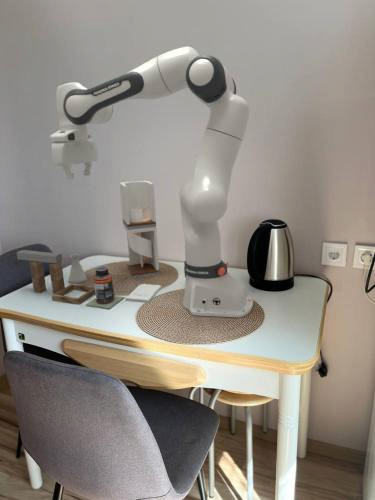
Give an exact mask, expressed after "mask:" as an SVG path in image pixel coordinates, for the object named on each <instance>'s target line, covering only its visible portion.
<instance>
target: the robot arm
mask: <svg viewBox="0 0 375 500" xmlns="http://www.w3.org/2000/svg"><path fill="white" fill-rule="evenodd" d="M184 89H189V90H190V92H191V93H192V94H193V95H195V97H197V99H198V100H199V101H200V102H201V103H202V104H204V105H206V106H207V107H208V108H209V110H210V112H209V118H208V121H207V124H206V127H205V130H204V132H203V136H202V138H201V142H200V145H199V147H198V150H197V154H196V161H195V167H194V173H193V178H191V179H188V180H187V181H186V182H184V183H183V185H182V186H181V187H180V189H179V202H180V203H179V205H180V213H181V222H182V229H183V235H184V236H183V237H184V251H185V253H184V254H185V255H184V257H185V259H184V265H183V268H184V269H183V272H184V277H185V286H184V293H183V298H182V302H181V303H182V307H183V308H185V309H186V310H188V311H189V313H190V314H191V315H192V316H199V317H200V316H202V317H203V316H204V317H222V318H223V317H225V318H243V317H244V316H247V315H248V314H249V313H250V312H251V311H252V310H253V307H254V300H253V298H252V297H251V296H247V292H246V288H245V285H244V284H243V282H241V281H240V280H238V279H237V278H236V277H234V276H233V275H232V274H230V273H229V272H228V266H229V262H228V261H227V262H226V263H225V262H224V261H223V260H222V240H221V239H222V238H221V233H220V229H219V223H218V221H219V220H221V219H222V218H223V217H224V215H225V213H226V212H227V209H228V194H229V192H230V191H229V190H230V185H231V179H232V174H233V170H234V169H233V168H234V166H235V163H236V160H237V156H238V154H239V151H240V149H241V145H242V144H243V140H244V137H245V134H246V131H247V126H248V120H249V117H250V106H249V105H250V104H249V103H248V102H247V101H246V99H244V97H242V96H240V95H237V86H236V82H235V80H234V78H233V77H232V76H231V73H230V71H229V70H228V68H227V67H225V65H224V64H222V62H221V61H220V60H219V58H217V57H214V56H212V55H210V54H201V55H200V54H199V53H198V51H197V50H196V49H195V48H194V47H191V46H183V47H179V48H175V49H172V50H169V51H167V52H164V53H162V54H159V55H158V56H155V57H153V58H152V59H150V60H148V61H146V62H144V63H143V64H141V65H139V66H137V67H135V68H133V69H130V71H128V72H126V73H124V74H122V75H120V76H117V77H115V78H112V79H110V80H108V81H105V82H103V83H100V84H98V85H96V86H93V87H91V88H87V87H85V86H84V85H82V84H81V83H79V82H77V81H68V82H67V81H66V82H64V83H61V84H59V86H57V88H56V95H55V98H56V110H57V114H58V117H59V125H58V126H59V129H58V130H57V131H56V132H54V133H52V134H50V135H49V140H50V142H51V143H52V144H51V158H52V162H53V164H54V165H55V166H56V167H62V170H63V171H64V173H65V175H66V176H65V177H66V179H67V180H73V179H74V178H75V177H74V175H75V174H74V173H73V172H72V170H71V169H72V168H71V167H72V165H79V164H83V165H84V166H85V167H84V170H83V175H84V176H85V177H86V176H87V177H89V176H91V169H92V162H97V161H98V159H99V153H98V148H97V145H96V142H95V140H94V137H93V136H92V135H91V134H89V132H88V125H99V124H104V123H106V122H108V121H109V120H110V119H111V118H112V116H113V112H114V105H115V104H118V103H120V102H123V101H129V100H157V99H161V98H165V97H168V96H170V95H173V94H176V93H177V92H179V91H181V90H184Z"/></svg>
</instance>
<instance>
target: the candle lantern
mask: <svg viewBox="0 0 375 500" xmlns="http://www.w3.org/2000/svg"><path fill="white" fill-rule="evenodd" d="M119 193H120V204H121V214H122V226H123V229H124V231H126V239H127V248H128V249H127V250H128V251H127V252H128V264H126V270H127V272H128V274H129V276H130V278H131V279H132V280H134V279H133V278H135V279H141V278H140V277H142V278H149V277H154V276H153V275H156V276H160V267H159V265H160V264H159V262H160V261H159V248H158V234H157V233H158V232H157V218H156V204H155V188H154V183H152V182H151V181H148V180H140V181H139V180H138V181H126V182H124V181H123V182H119ZM148 276H149V277H148Z"/></svg>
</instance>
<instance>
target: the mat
mask: <svg viewBox="0 0 375 500" xmlns="http://www.w3.org/2000/svg"><path fill="white" fill-rule="evenodd" d="M124 299H125V297H124V296H120V295H114V300H113V301H112V302H110V303H106V304H101V303H98V302H97V301H96V297H95V298H93V299H91V300H90V301H88V302H87V303H86V304H85V306H86V307H90V308H97V309H103V310H111V309H113V308H114V307H115V306H116V305H117V304H119V303H120V302H121V301H123V300H124Z"/></svg>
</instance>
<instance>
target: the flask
mask: <svg viewBox="0 0 375 500" xmlns="http://www.w3.org/2000/svg"><path fill="white" fill-rule="evenodd" d="M79 258H80V255H79V254H77V253H75V254H70V259H71V266H70V272H69V277H68V281H67V283H69V284H82V283H83V282H85V281H87V280H88V277H87V274H86V273H85V271H84V269H83V266H82V265H81V263H80V260H79Z"/></svg>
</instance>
